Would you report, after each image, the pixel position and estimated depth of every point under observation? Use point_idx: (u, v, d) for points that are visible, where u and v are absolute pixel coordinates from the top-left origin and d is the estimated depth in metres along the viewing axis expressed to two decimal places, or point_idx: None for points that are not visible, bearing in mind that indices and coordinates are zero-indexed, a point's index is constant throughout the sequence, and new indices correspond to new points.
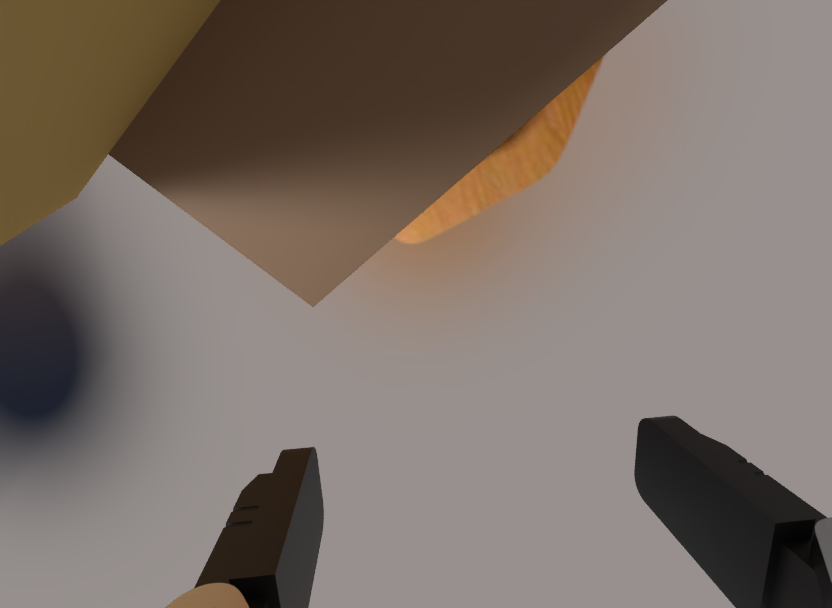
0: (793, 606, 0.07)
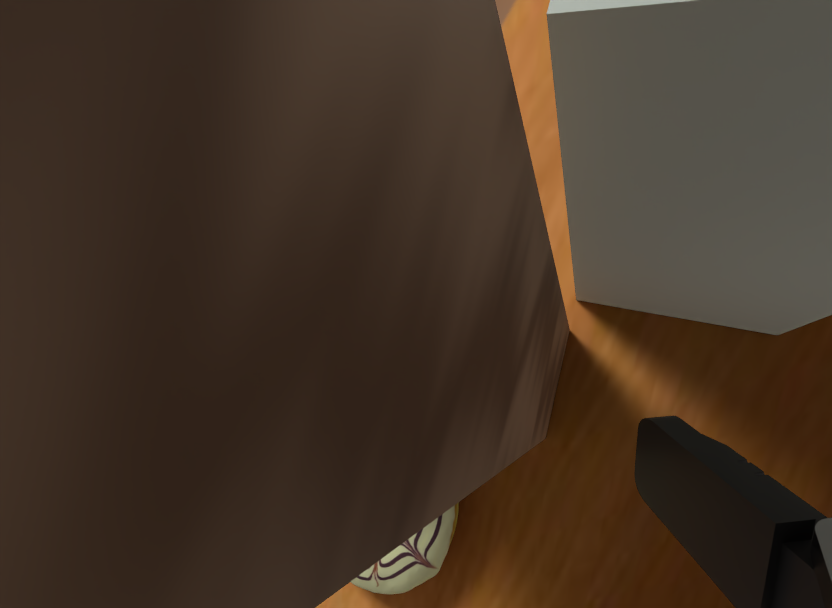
0: (793, 606, 0.07)
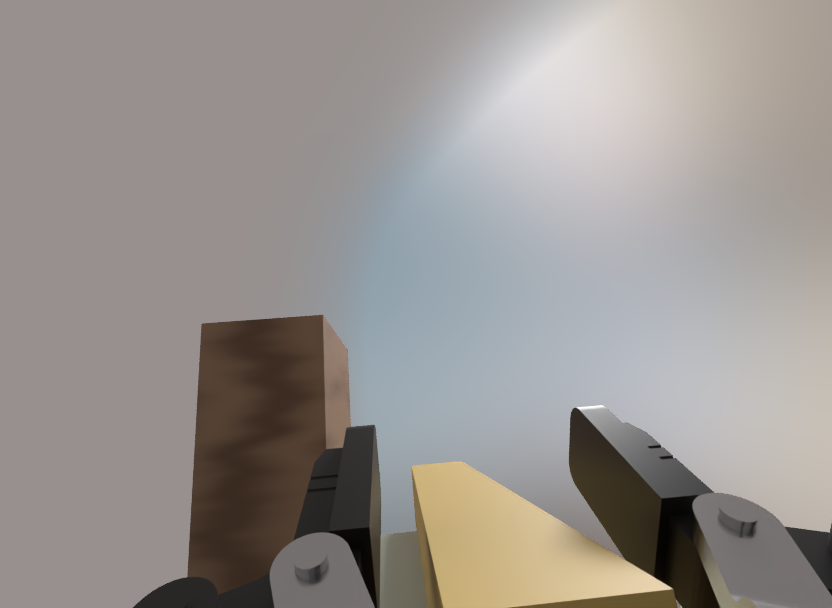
0: (677, 573, 0.07)
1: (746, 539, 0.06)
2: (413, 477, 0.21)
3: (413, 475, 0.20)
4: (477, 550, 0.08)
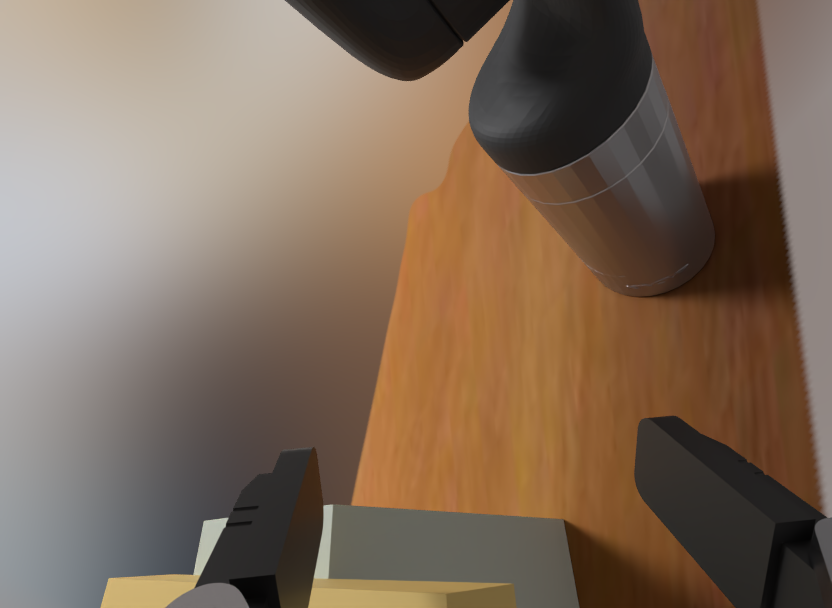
0: (793, 606, 0.07)
1: None
2: None
3: None
4: None
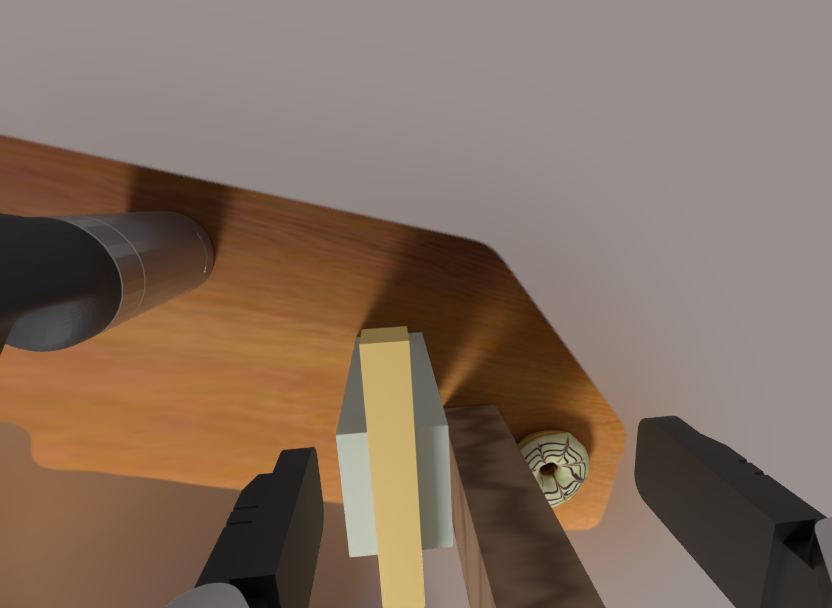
0: (793, 606, 0.07)
1: None
2: None
3: None
4: (397, 380, 0.26)
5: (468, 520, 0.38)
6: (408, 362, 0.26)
